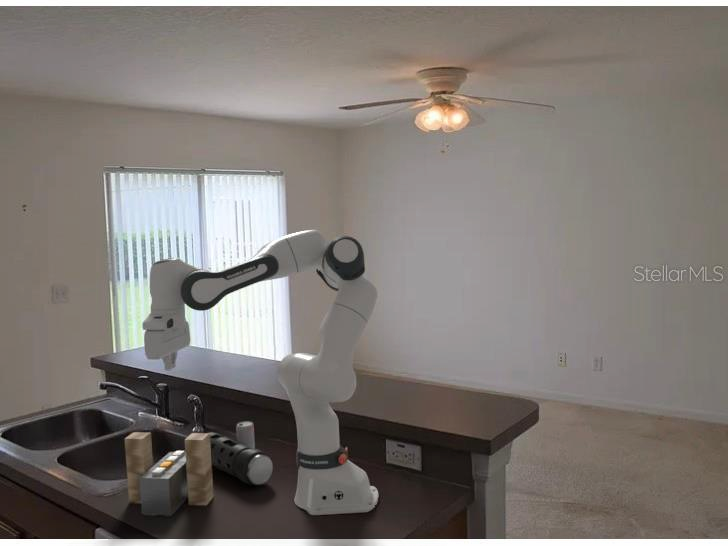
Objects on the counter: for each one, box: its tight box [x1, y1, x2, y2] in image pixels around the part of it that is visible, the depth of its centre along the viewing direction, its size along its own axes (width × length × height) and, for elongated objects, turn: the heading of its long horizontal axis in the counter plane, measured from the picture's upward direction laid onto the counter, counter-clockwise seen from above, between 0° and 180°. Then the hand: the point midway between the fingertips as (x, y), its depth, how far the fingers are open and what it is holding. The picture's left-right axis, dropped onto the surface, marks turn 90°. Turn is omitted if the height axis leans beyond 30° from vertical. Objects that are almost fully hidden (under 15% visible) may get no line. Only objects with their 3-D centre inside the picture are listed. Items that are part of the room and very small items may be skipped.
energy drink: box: [235, 420, 256, 449], centre depth 200 cm, size 5×5×12 cm
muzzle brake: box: [209, 431, 274, 486], centre depth 190 cm, size 10×28×10 cm, turn 44°
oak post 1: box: [124, 431, 154, 502], centre depth 175 cm, size 5×5×18 cm
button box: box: [139, 450, 188, 517], centre depth 175 cm, size 8×18×11 cm, turn 172°
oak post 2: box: [184, 432, 214, 506], centre depth 173 cm, size 5×5×18 cm
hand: (170, 369), depth 174 cm, fingers closed
